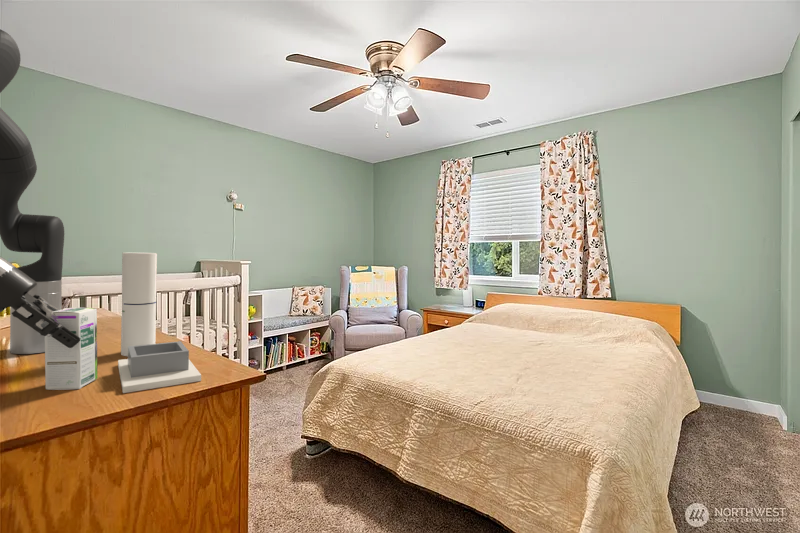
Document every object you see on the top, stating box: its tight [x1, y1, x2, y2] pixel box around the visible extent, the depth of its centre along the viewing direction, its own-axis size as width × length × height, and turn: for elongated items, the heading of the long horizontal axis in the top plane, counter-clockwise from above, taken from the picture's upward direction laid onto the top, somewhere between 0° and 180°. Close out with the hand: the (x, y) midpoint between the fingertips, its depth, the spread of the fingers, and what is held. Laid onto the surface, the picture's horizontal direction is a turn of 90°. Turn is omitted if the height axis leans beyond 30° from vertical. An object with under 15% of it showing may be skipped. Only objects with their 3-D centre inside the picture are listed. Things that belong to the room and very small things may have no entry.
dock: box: [117, 340, 202, 394], centre depth 83 cm, size 20×13×5 cm, turn 38°
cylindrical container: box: [120, 251, 158, 357], centre depth 97 cm, size 7×7×25 cm
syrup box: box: [44, 306, 98, 391], centre depth 74 cm, size 6×6×14 cm
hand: (77, 339), depth 74 cm, fingers open, 8 cm apart
